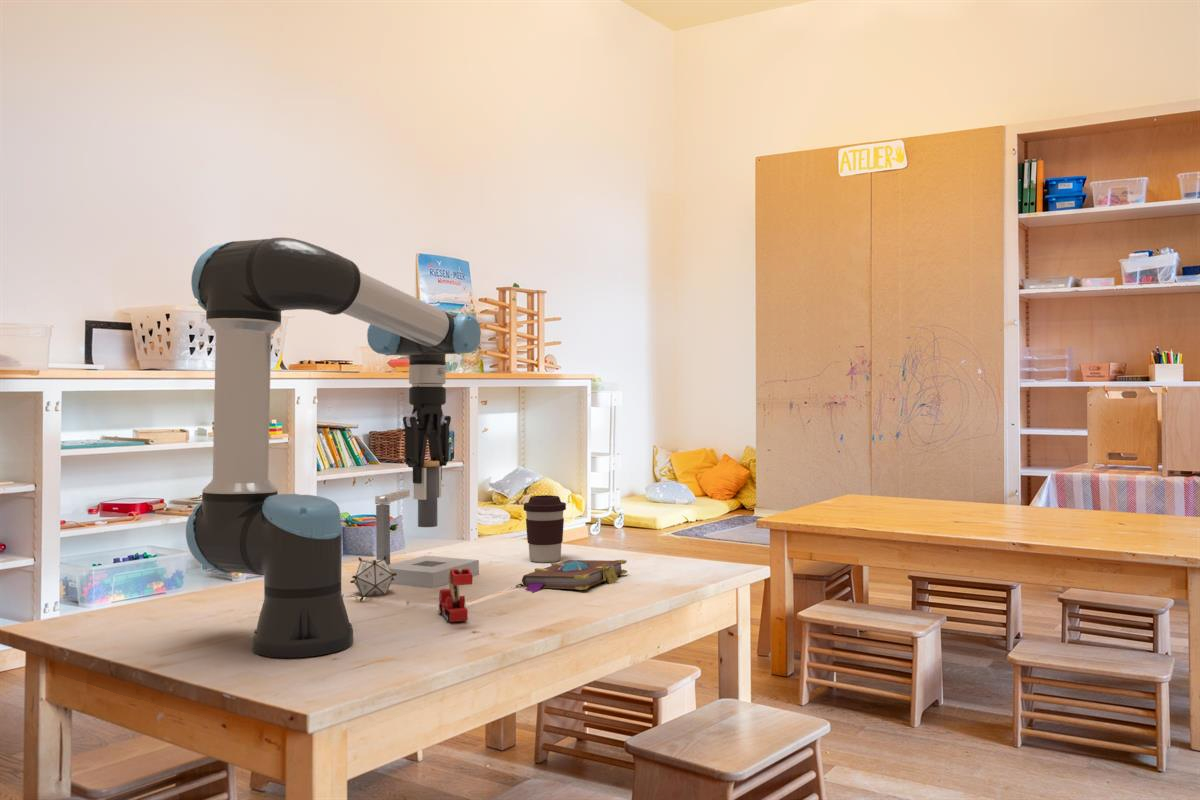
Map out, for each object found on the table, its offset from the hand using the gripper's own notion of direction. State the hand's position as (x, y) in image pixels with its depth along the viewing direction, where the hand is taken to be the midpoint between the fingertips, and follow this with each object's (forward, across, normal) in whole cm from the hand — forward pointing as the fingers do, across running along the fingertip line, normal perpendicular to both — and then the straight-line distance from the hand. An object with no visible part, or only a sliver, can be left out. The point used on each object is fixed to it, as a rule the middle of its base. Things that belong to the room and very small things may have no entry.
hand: (427, 498), depth 206 cm
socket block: (+18, +1, 0) cm, 18 cm away
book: (+18, +14, -27) cm, 35 cm away
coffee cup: (+17, +34, -8) cm, 39 cm away
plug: (+6, 0, 0) cm, 6 cm away
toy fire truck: (+18, -24, -24) cm, 39 cm away
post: (+18, +1, +12) cm, 21 cm away
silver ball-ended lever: (+2, +6, +14) cm, 15 cm away
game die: (+18, -17, 0) cm, 25 cm away
